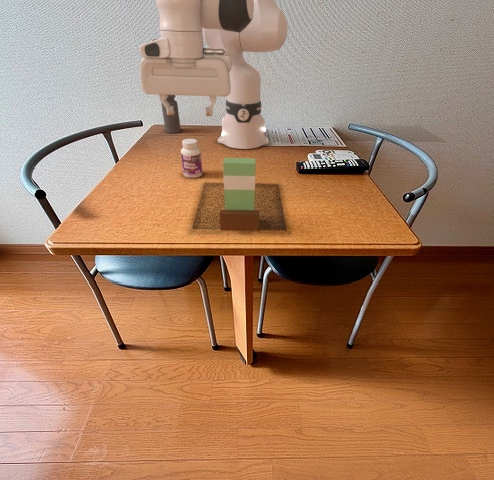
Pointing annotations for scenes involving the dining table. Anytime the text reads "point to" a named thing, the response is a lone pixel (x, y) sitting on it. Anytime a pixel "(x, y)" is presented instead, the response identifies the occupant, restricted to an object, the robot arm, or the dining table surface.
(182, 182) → the dining table surface
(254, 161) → the block
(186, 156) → the pill bottle
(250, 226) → the mat
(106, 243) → the dining table surface
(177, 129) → the bottle
